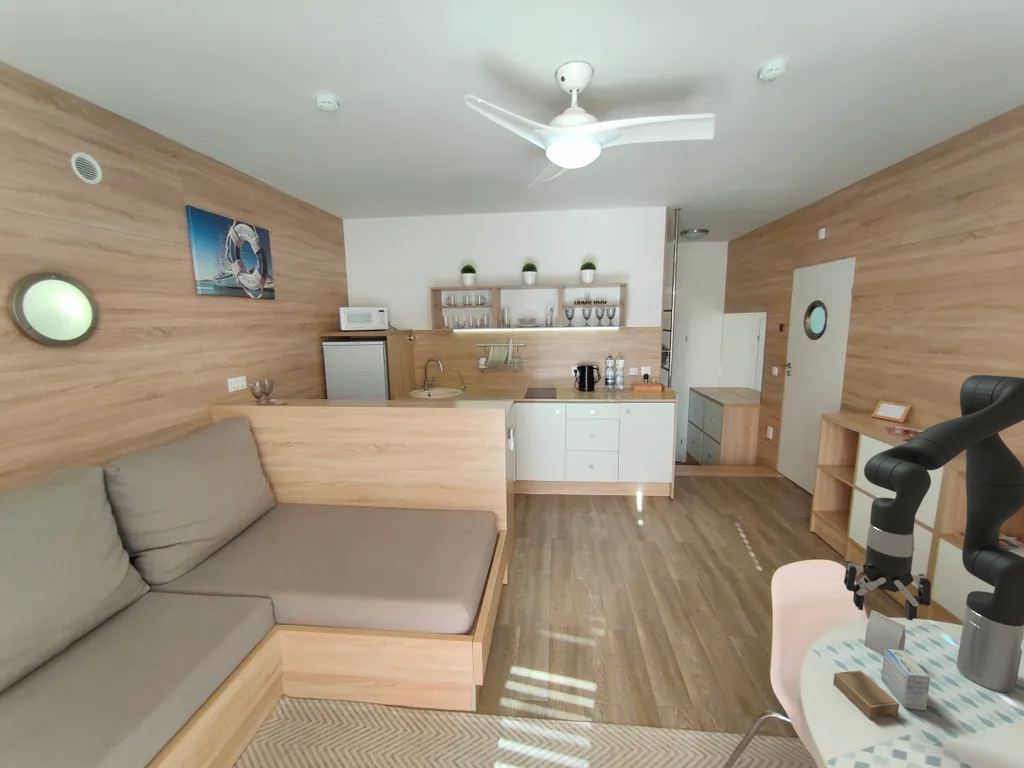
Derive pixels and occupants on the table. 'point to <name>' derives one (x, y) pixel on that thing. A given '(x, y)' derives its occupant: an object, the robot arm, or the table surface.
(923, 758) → the table surface
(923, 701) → the medicine box
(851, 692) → the brown flat rectangular block
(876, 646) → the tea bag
